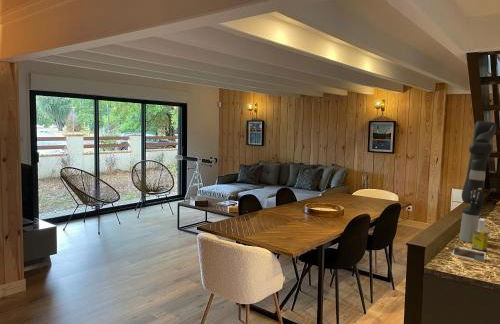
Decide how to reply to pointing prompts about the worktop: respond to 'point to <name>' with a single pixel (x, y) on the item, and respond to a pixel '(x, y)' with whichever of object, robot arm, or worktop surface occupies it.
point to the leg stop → (479, 258)
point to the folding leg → (466, 252)
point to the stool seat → (469, 257)
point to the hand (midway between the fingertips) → (472, 209)
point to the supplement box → (480, 240)
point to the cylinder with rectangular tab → (482, 225)
